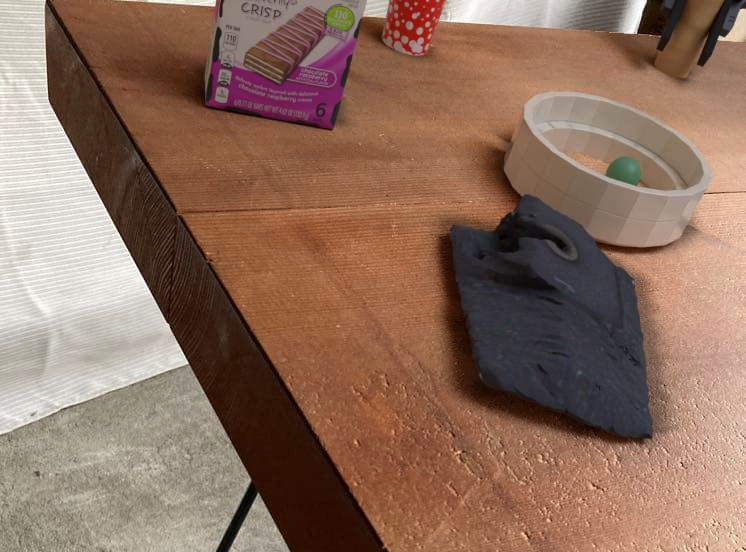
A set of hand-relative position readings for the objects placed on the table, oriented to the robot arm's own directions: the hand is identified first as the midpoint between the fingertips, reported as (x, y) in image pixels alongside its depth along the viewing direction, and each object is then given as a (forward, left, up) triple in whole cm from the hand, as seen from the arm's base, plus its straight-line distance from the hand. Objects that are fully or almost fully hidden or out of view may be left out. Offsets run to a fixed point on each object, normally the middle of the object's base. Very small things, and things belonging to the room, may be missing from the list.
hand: (683, 51), depth 105 cm
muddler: (+1, -4, -4) cm, 6 cm away
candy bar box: (+27, +43, -4) cm, 51 cm away
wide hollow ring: (0, +33, -4) cm, 33 cm away
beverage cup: (+24, +21, -4) cm, 32 cm away
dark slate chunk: (-3, +56, -4) cm, 56 cm away
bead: (-2, +31, -2) cm, 31 cm away
